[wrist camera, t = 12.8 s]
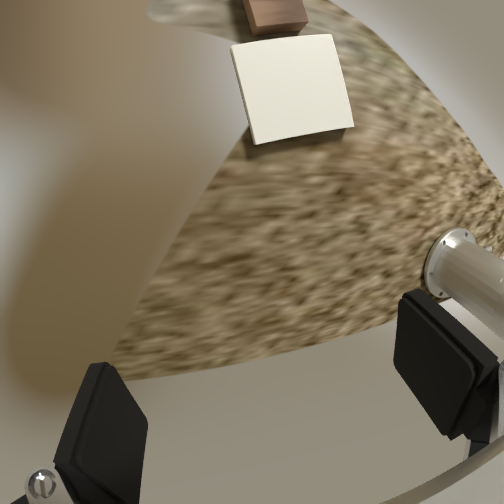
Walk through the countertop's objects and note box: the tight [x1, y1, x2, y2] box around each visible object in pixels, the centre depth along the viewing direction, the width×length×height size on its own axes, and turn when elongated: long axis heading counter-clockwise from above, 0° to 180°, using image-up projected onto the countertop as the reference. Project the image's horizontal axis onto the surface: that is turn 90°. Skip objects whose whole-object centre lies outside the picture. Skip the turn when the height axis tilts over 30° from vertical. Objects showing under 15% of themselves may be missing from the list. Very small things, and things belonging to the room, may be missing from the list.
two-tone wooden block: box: [242, 0, 309, 36], centre depth 26 cm, size 6×4×8 cm
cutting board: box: [230, 34, 354, 145], centre depth 31 cm, size 12×12×2 cm
